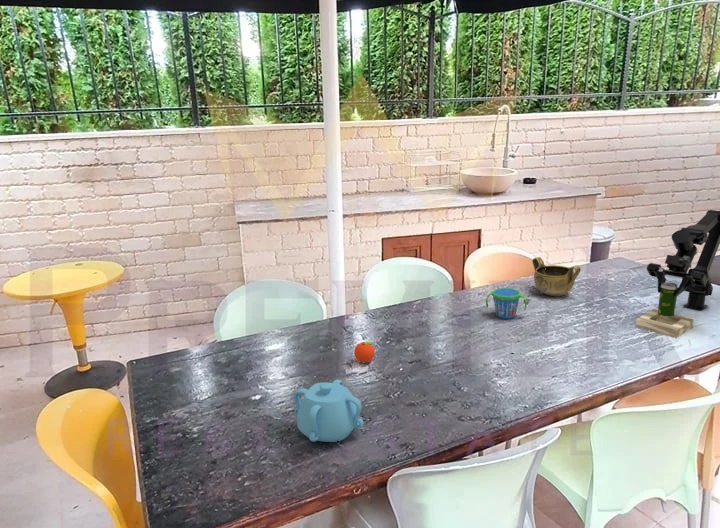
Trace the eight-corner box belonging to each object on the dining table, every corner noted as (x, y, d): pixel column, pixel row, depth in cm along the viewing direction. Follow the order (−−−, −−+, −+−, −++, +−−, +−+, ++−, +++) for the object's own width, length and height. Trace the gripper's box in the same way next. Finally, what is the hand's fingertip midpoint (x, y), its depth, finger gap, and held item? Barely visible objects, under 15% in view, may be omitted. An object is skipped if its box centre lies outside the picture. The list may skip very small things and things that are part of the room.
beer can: (672, 313, 190) (676, 282, 187) (675, 318, 186) (679, 287, 182) (656, 312, 192) (659, 281, 189) (658, 317, 188) (662, 286, 184)
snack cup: (482, 318, 206) (483, 294, 203) (489, 309, 215) (489, 285, 212) (523, 323, 199) (524, 298, 196) (528, 314, 208) (529, 290, 205)
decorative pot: (304, 455, 128) (300, 407, 124) (293, 420, 143) (289, 376, 139) (367, 441, 133) (364, 394, 129) (349, 408, 148) (347, 365, 144)
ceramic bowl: (588, 296, 223) (590, 262, 219) (563, 305, 214) (565, 271, 210) (544, 283, 241) (546, 252, 237) (520, 291, 232) (521, 259, 228)
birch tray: (652, 317, 200) (653, 309, 199) (692, 327, 189) (694, 319, 188) (635, 327, 191) (636, 319, 190) (676, 339, 181) (677, 330, 180)
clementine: (373, 354, 179) (372, 336, 177) (381, 363, 173) (380, 343, 171) (351, 359, 177) (350, 340, 175) (358, 368, 171) (357, 348, 169)
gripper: (651, 241, 191) (634, 277, 188) (708, 250, 177) (691, 289, 174) (658, 257, 198) (642, 292, 195) (714, 267, 184) (697, 304, 180)
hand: (666, 294), depth 186 cm, fingers closed on beer can, 5 cm apart
